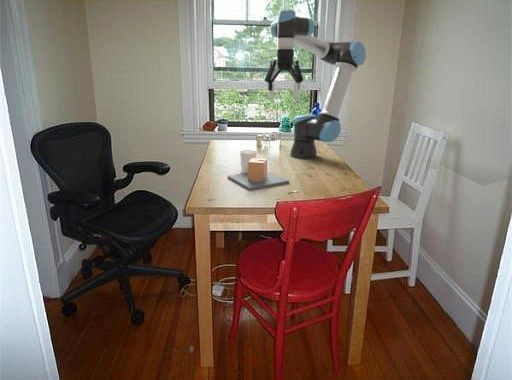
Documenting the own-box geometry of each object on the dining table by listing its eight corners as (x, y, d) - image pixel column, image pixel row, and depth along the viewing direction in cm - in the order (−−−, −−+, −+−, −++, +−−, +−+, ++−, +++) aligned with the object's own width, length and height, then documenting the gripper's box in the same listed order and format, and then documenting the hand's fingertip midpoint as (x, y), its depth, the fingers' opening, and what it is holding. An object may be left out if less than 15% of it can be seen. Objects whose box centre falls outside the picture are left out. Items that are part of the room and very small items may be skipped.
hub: (264, 172, 175) (264, 161, 173) (289, 183, 158) (289, 171, 157) (227, 178, 165) (227, 167, 163) (249, 190, 149) (249, 178, 147)
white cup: (242, 174, 171) (242, 153, 167) (238, 170, 178) (238, 150, 175) (258, 173, 173) (258, 152, 169) (254, 169, 180) (254, 149, 177)
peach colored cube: (251, 175, 165) (252, 157, 162) (266, 176, 163) (267, 158, 161) (247, 179, 159) (247, 160, 156) (263, 180, 157) (263, 162, 154)
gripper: (302, 49, 171) (300, 96, 177) (257, 48, 158) (256, 97, 165) (312, 49, 165) (309, 97, 171) (266, 47, 152) (265, 99, 159)
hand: (283, 97), depth 168 cm, fingers open, 13 cm apart
